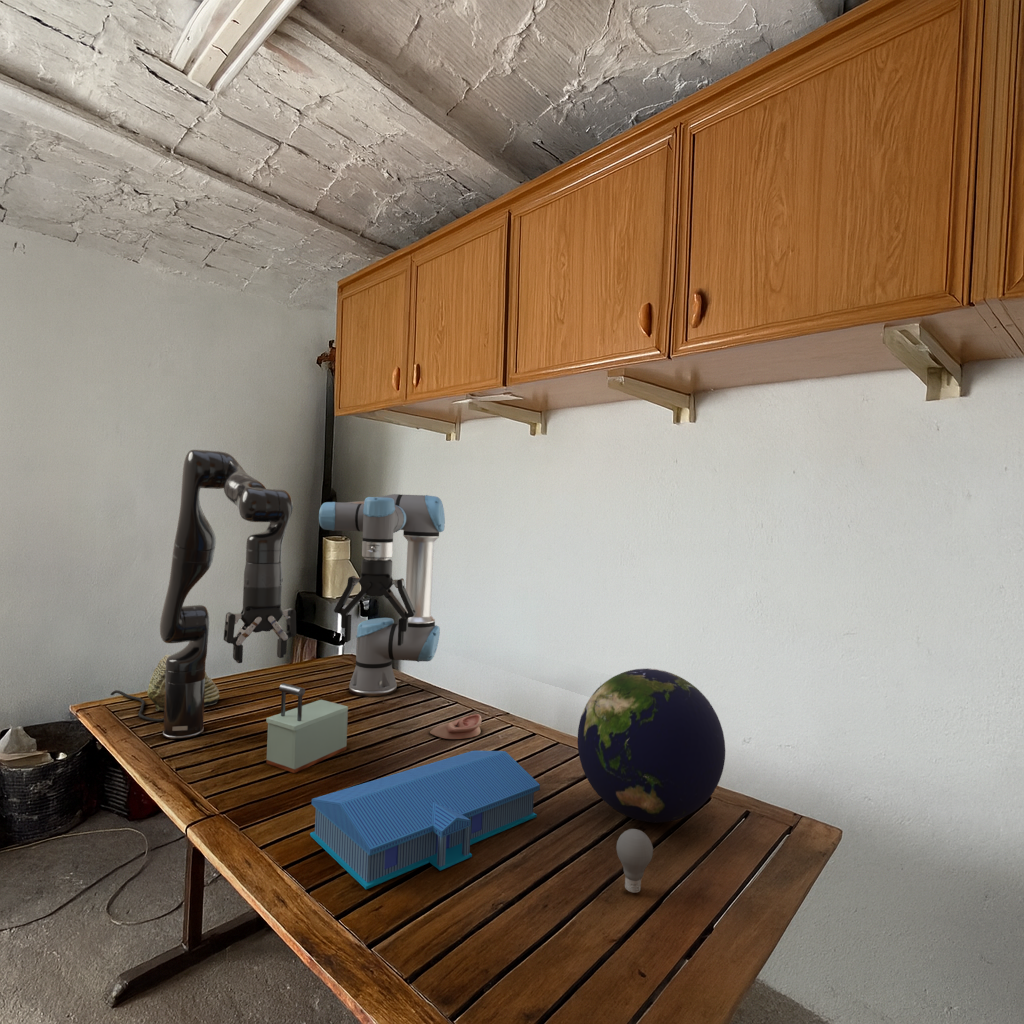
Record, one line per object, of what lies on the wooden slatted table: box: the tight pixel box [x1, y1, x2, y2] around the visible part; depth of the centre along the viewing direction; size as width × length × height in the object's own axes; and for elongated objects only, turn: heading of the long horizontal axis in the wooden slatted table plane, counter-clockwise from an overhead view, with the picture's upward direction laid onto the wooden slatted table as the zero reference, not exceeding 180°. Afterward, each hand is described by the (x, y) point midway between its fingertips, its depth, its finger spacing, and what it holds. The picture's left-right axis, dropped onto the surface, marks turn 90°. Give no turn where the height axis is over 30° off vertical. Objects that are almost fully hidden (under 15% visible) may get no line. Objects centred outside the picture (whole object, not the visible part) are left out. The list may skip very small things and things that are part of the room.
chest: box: [265, 710, 349, 774], centre depth 154 cm, size 17×9×10 cm, turn 151°
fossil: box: [147, 654, 221, 712], centre depth 185 cm, size 9×18×15 cm, turn 132°
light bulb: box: [615, 828, 654, 894], centre depth 106 cm, size 6×6×10 cm
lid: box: [265, 682, 349, 731], centre depth 154 cm, size 17×9×9 cm, turn 151°
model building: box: [309, 750, 541, 890], centre depth 123 cm, size 39×24×10 cm, turn 132°
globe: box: [577, 667, 726, 824], centre depth 132 cm, size 30×30×30 cm
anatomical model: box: [429, 713, 482, 740], centre depth 174 cm, size 13×4×12 cm
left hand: (259, 659), depth 134 cm, fingers open, 8 cm apart
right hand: (373, 642), depth 159 cm, fingers open, 13 cm apart
